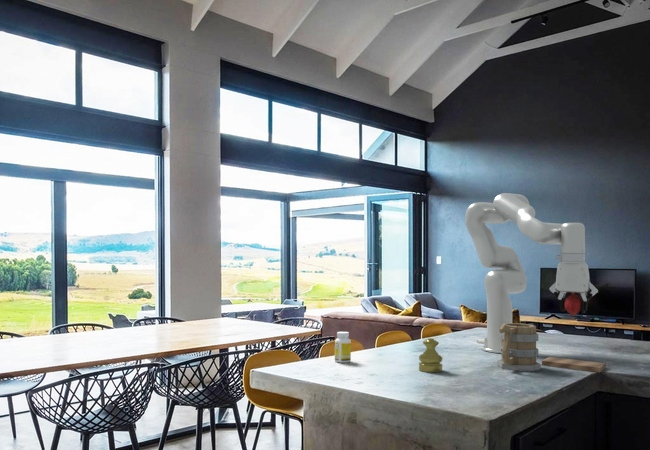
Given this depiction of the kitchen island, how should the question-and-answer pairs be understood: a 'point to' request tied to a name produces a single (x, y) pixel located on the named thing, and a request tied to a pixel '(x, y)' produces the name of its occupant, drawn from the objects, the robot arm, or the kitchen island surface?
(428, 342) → the olive chess piece
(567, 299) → the red round fruit
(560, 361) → the cutting board
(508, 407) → the kitchen island surface
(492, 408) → the kitchen island surface
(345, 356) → the supplement bottle
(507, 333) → the tankard
